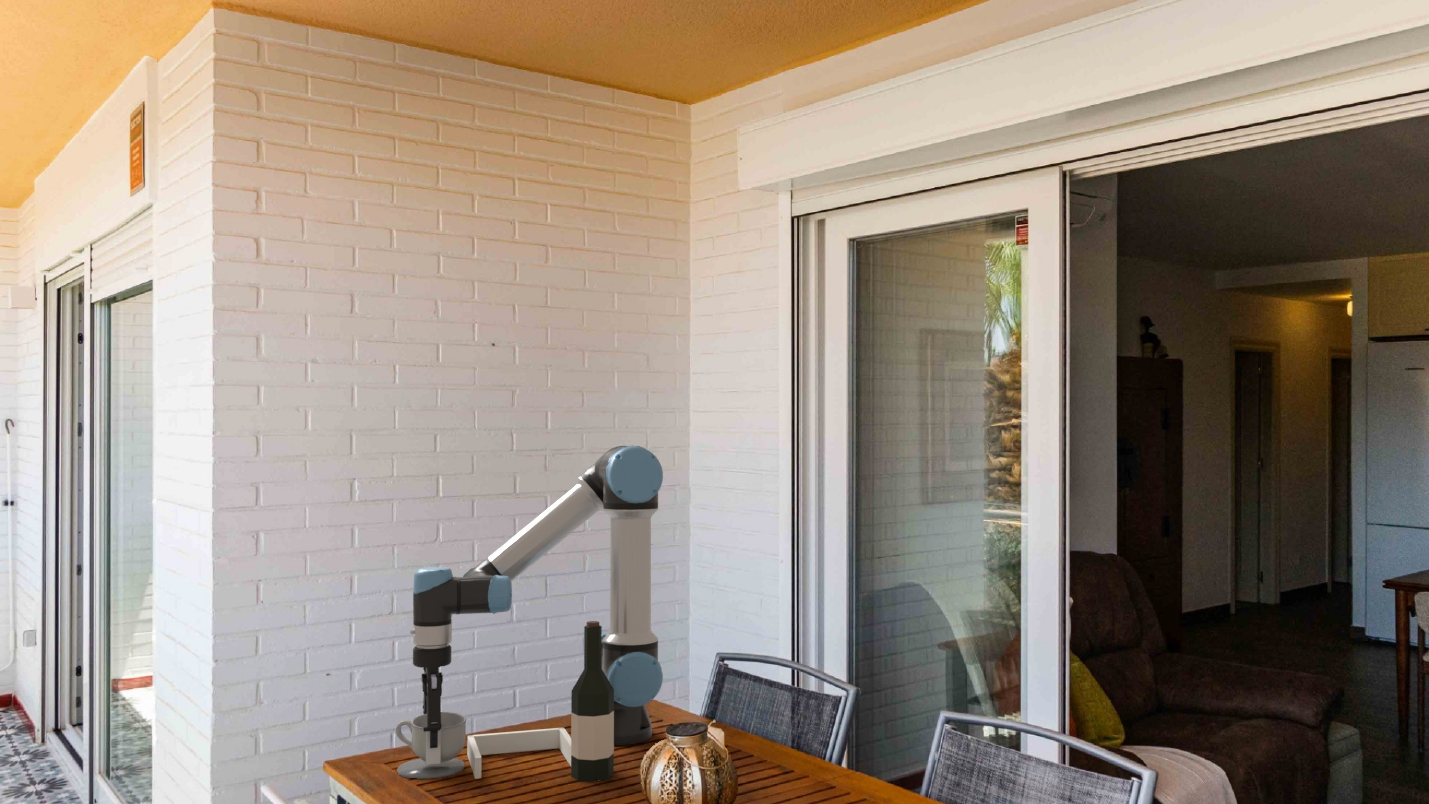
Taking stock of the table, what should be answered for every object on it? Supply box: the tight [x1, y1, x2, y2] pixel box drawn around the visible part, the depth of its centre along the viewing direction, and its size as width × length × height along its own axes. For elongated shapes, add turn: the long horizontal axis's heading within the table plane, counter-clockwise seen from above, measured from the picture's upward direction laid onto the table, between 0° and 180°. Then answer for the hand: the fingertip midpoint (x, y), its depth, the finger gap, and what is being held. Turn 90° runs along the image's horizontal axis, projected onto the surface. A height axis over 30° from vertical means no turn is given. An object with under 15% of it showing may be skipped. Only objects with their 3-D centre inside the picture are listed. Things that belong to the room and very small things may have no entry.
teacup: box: [395, 711, 467, 762], centre depth 218 cm, size 14×11×8 cm
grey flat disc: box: [396, 757, 465, 780], centre depth 217 cm, size 13×13×1 cm
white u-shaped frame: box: [466, 727, 571, 780], centre depth 222 cm, size 20×17×4 cm
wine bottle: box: [570, 620, 615, 783], centre depth 214 cm, size 8×8×30 cm
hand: (431, 755), depth 217 cm, fingers closed on teacup, 11 cm apart
